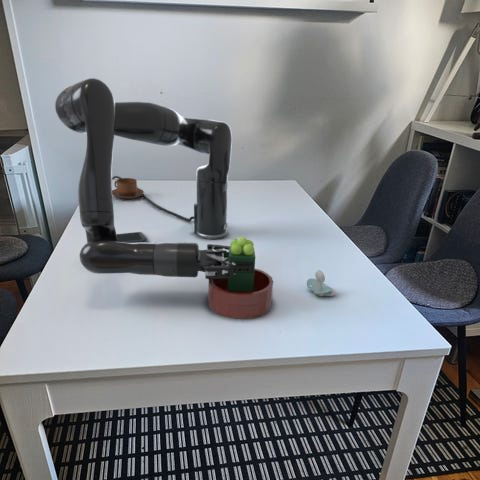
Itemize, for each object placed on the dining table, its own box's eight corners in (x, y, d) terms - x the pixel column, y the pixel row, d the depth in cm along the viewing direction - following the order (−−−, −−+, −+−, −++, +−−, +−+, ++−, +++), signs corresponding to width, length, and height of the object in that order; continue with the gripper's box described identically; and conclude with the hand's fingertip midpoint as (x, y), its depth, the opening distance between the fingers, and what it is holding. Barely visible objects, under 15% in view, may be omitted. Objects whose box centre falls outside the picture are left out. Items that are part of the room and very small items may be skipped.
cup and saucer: (106, 199, 171) (104, 183, 168) (119, 191, 181) (117, 175, 178) (137, 202, 170) (136, 185, 166) (148, 193, 180) (147, 178, 177)
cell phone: (95, 238, 137) (95, 236, 136) (141, 233, 142) (141, 231, 141) (99, 247, 131) (98, 244, 131) (147, 242, 136) (147, 239, 135)
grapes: (227, 291, 102) (229, 241, 96) (227, 280, 106) (229, 232, 100) (253, 292, 102) (256, 242, 96) (251, 281, 107) (255, 233, 101)
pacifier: (321, 284, 117) (302, 288, 114) (325, 262, 114) (306, 265, 111) (340, 296, 112) (321, 301, 109) (344, 273, 108) (325, 277, 106)
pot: (196, 306, 104) (195, 283, 101) (229, 283, 115) (230, 261, 112) (252, 325, 98) (253, 301, 95) (281, 299, 109) (283, 276, 106)
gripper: (172, 256, 92) (256, 259, 93) (178, 231, 105) (252, 234, 105) (173, 289, 96) (253, 292, 97) (179, 262, 108) (250, 264, 109)
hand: (252, 262), depth 101 cm, fingers closed on grapes, 5 cm apart
